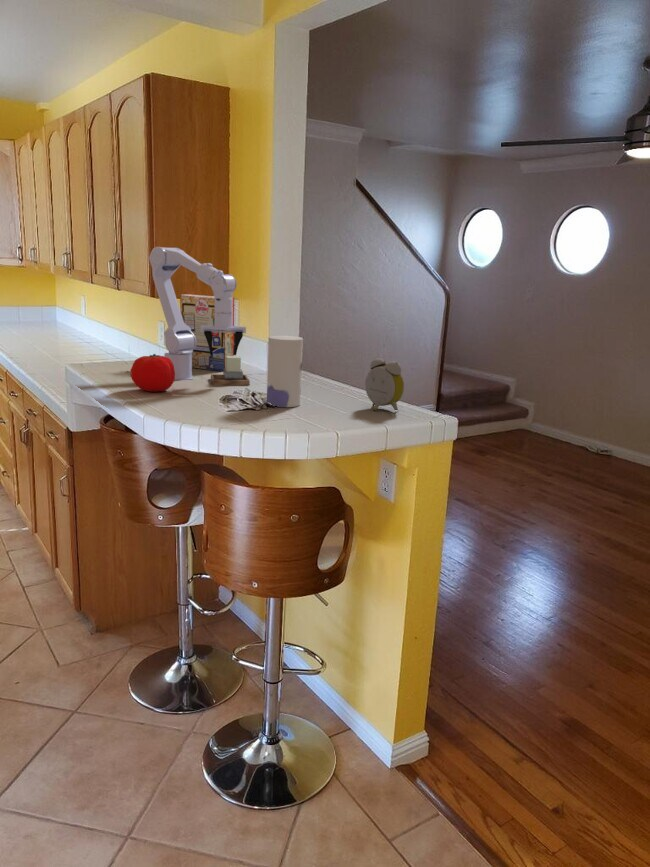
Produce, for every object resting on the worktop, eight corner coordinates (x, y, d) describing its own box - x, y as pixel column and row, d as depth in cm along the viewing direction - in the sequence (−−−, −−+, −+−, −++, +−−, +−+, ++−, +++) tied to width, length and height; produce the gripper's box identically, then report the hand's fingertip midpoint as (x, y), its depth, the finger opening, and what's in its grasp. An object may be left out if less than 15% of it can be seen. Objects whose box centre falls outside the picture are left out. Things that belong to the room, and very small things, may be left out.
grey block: (224, 383, 223) (224, 371, 222) (223, 380, 229) (223, 368, 228) (242, 383, 224) (242, 371, 223) (240, 380, 230) (240, 368, 229)
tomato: (178, 394, 206) (178, 356, 203) (133, 395, 200) (132, 357, 197) (171, 386, 216) (170, 351, 213) (128, 387, 211) (127, 351, 208)
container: (307, 405, 199) (310, 338, 194) (282, 409, 193) (284, 340, 187) (284, 399, 206) (287, 334, 201) (259, 403, 199) (261, 335, 194)
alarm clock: (403, 412, 196) (407, 362, 193) (387, 415, 192) (391, 363, 188) (374, 404, 205) (378, 356, 201) (358, 407, 200) (362, 357, 196)
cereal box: (234, 370, 251) (235, 297, 244) (225, 372, 245) (225, 298, 238) (189, 364, 259) (189, 293, 252) (179, 366, 254) (179, 294, 247)
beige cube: (226, 371, 223) (227, 357, 221) (225, 368, 227) (225, 355, 226) (240, 371, 224) (240, 358, 223) (239, 369, 228) (239, 355, 227)
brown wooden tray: (213, 386, 220) (213, 380, 219) (210, 380, 230) (210, 374, 230) (249, 386, 223) (249, 380, 222) (245, 380, 233) (245, 374, 232)
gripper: (201, 313, 210) (201, 356, 213) (247, 314, 213) (246, 356, 217) (200, 311, 216) (200, 352, 220) (244, 312, 220) (243, 353, 223)
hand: (223, 354), depth 219 cm, fingers open, 7 cm apart
